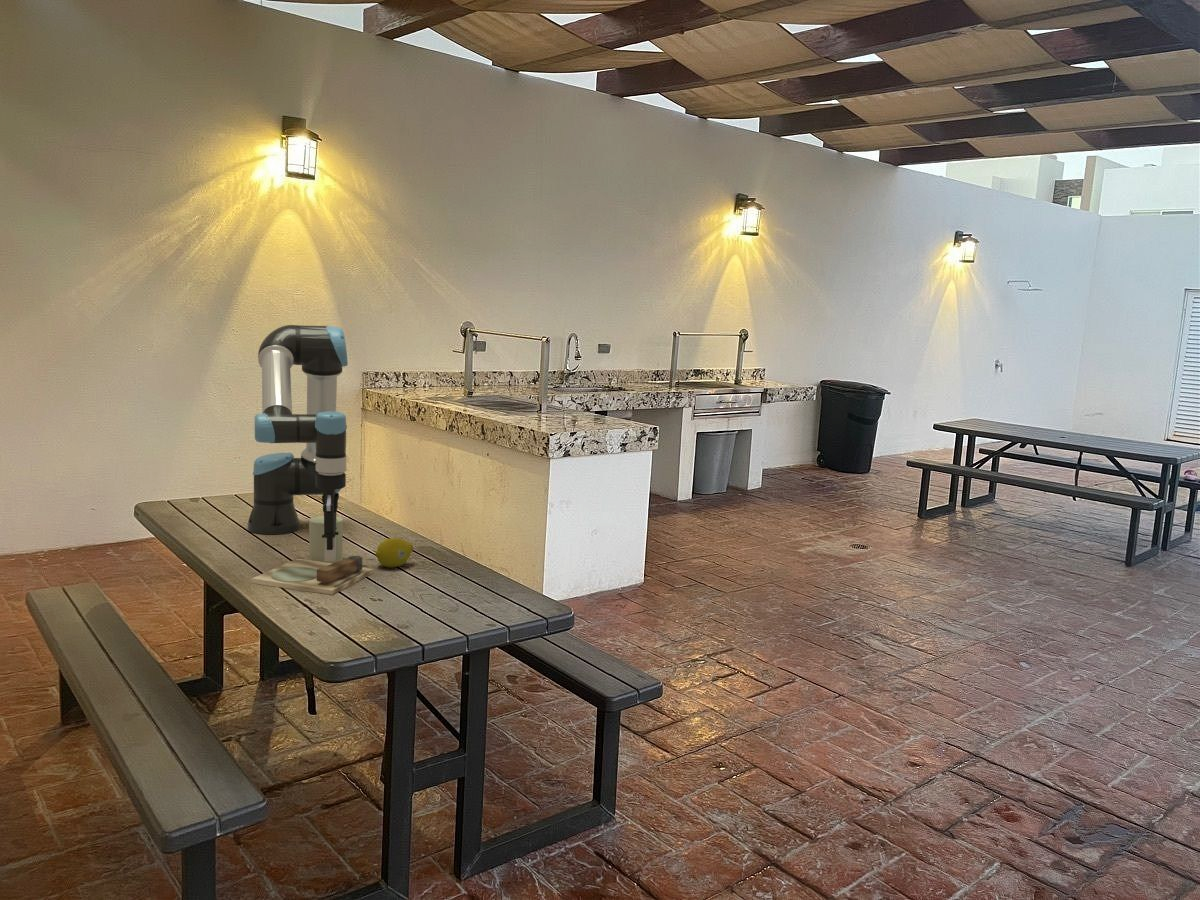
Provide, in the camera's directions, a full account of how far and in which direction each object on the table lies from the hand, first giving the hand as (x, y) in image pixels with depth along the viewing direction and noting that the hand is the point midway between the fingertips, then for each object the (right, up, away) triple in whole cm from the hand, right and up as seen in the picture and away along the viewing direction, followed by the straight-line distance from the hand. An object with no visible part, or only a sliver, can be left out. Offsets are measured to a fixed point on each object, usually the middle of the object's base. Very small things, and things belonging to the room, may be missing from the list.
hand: (330, 560), depth 240 cm
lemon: (+14, -4, +13) cm, 19 cm away
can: (-6, -2, +16) cm, 17 cm away
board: (-4, -5, -1) cm, 6 cm away
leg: (+4, -3, -3) cm, 6 cm away
